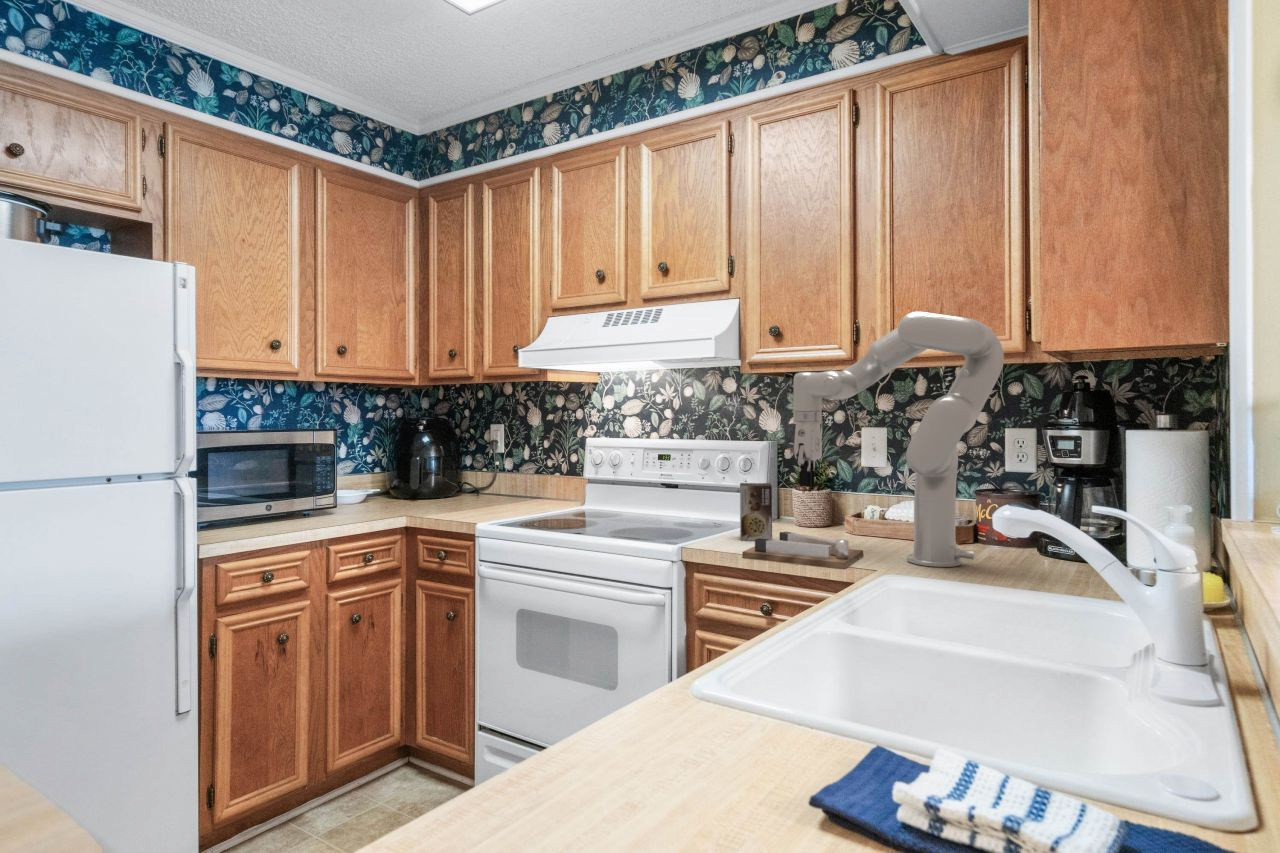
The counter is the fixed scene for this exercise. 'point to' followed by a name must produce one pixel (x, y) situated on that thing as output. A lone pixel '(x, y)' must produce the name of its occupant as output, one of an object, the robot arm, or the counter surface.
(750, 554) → the cutting board
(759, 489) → the printed cardboard box
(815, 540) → the arm
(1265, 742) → the counter surface
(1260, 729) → the counter surface
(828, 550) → the tongs fixed
